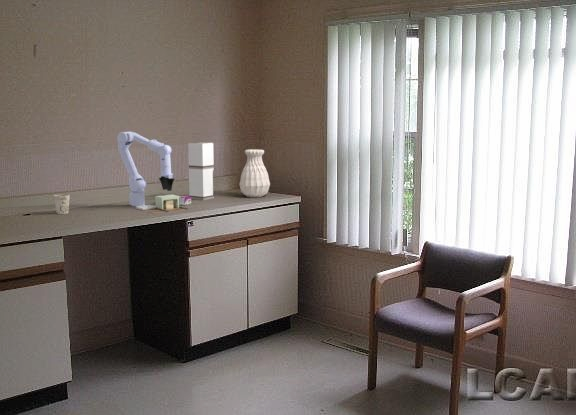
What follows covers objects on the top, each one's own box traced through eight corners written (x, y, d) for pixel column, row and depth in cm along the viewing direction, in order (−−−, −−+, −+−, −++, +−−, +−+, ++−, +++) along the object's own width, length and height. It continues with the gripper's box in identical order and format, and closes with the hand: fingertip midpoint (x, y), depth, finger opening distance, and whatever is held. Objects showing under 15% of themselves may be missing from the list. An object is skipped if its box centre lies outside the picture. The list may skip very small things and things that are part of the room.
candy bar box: (191, 204, 393) (165, 203, 396) (191, 196, 392) (166, 195, 396) (184, 205, 382) (158, 204, 385) (184, 197, 381) (158, 196, 385)
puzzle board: (133, 209, 371) (133, 207, 370) (167, 205, 385) (166, 203, 385) (154, 215, 354) (153, 212, 353) (188, 210, 368) (188, 208, 368)
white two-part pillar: (214, 198, 417) (213, 142, 412) (203, 200, 408) (202, 143, 403) (200, 196, 423) (199, 142, 418) (189, 198, 415) (188, 143, 409)
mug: (55, 214, 354) (54, 196, 352) (52, 211, 365) (51, 193, 363) (71, 213, 358) (70, 195, 356) (67, 210, 369) (67, 192, 367)
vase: (235, 198, 418) (234, 150, 413) (244, 193, 437) (243, 148, 432) (265, 199, 413) (265, 151, 409) (273, 194, 433) (273, 149, 428)
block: (162, 208, 371) (162, 199, 371) (169, 207, 374) (168, 198, 373) (166, 209, 368) (166, 200, 367) (173, 208, 371) (173, 199, 370)
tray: (136, 208, 370) (136, 206, 370) (148, 207, 375) (148, 205, 375) (143, 210, 364) (143, 208, 364) (155, 208, 369) (155, 206, 369)
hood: (155, 208, 370) (155, 196, 369) (172, 206, 378) (172, 194, 377) (162, 209, 365) (161, 197, 364) (179, 207, 372) (178, 195, 371)
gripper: (176, 166, 369) (178, 190, 371) (168, 165, 381) (169, 188, 383) (164, 167, 365) (166, 191, 367) (156, 166, 378) (157, 189, 380)
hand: (167, 190), depth 375 cm, fingers open, 7 cm apart
